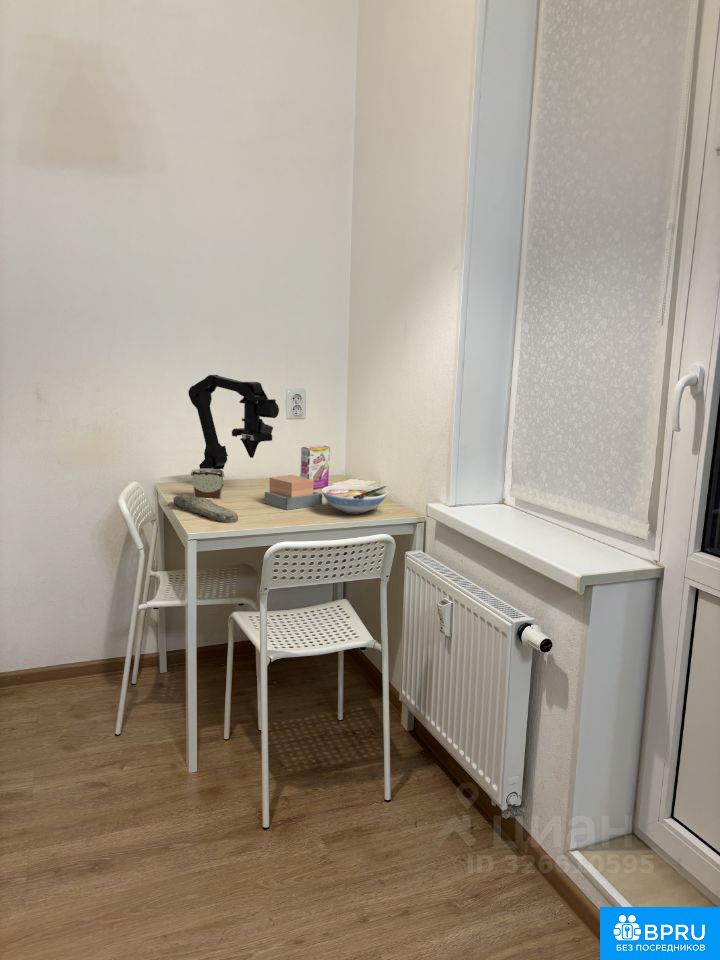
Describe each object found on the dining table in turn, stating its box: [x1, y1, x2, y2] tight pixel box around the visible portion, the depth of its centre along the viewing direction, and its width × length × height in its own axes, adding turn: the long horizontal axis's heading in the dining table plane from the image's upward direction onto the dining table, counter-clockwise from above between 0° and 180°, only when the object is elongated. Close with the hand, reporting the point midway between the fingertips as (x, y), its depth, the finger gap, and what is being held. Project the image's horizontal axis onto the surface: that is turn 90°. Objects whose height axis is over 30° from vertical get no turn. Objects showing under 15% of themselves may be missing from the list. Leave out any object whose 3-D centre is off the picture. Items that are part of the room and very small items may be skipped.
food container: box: [190, 468, 226, 500], centre depth 281 cm, size 12×6×10 cm, turn 84°
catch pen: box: [264, 490, 323, 511], centre depth 274 cm, size 13×15×4 cm
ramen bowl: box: [320, 484, 389, 515], centre depth 265 cm, size 25×23×8 cm
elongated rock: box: [173, 493, 239, 523], centre depth 257 cm, size 35×5×10 cm
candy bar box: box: [299, 445, 331, 490], centre depth 304 cm, size 11×5×16 cm, turn 136°
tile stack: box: [269, 474, 314, 498], centre depth 275 cm, size 12×10×9 cm
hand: (251, 457), depth 291 cm, fingers closed
